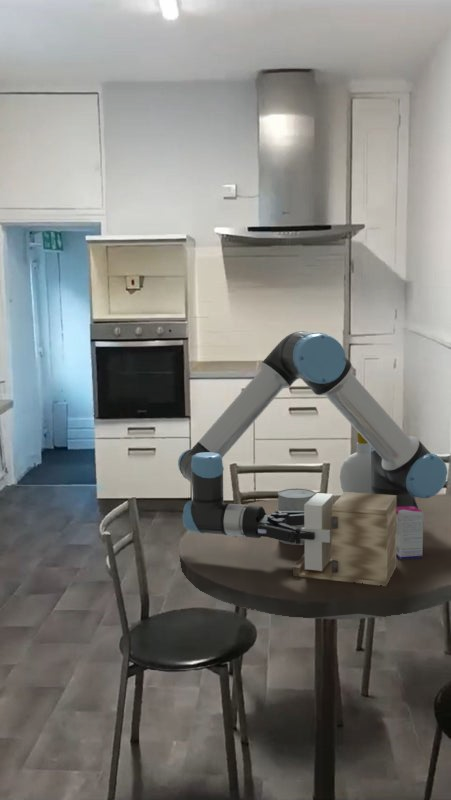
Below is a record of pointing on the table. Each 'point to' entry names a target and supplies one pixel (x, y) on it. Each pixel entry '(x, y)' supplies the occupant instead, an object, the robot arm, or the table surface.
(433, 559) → the table surface
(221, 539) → the table surface
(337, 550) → the cabinet
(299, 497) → the grey cylinder
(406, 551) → the supplement box
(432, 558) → the table surface
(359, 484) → the soap bottle
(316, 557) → the door
